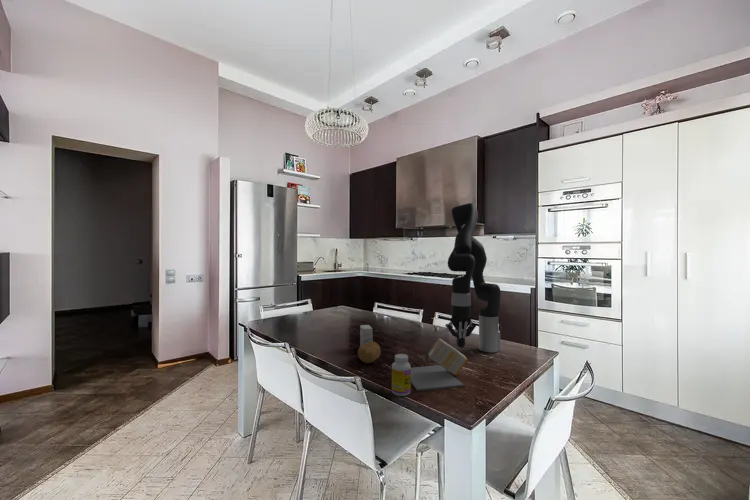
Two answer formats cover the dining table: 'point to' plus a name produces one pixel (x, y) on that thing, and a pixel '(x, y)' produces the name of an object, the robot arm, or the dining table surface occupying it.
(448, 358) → the supplement box
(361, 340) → the ink box
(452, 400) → the dining table surface
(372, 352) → the potato
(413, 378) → the rubber mat
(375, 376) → the dining table surface
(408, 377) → the supplement bottle
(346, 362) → the dining table surface
